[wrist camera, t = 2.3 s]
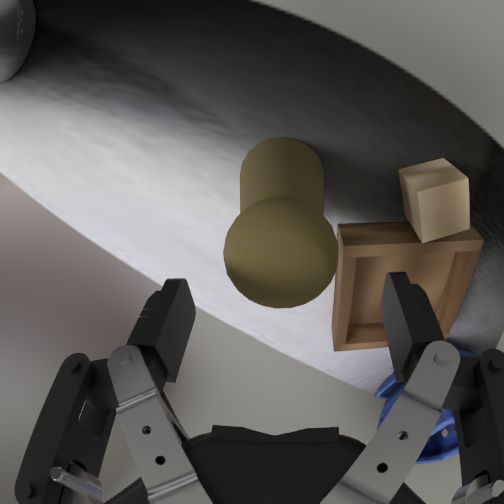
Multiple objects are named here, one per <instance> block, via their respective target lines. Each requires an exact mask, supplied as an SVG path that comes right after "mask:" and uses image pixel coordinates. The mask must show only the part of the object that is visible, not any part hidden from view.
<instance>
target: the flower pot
mask: <svg viewBox="0 0 504 504" xmlns="http://www.w3.org/2000/svg"><path fill="white" fill-rule="evenodd" d="M456 349H457V348H456ZM457 350H458V352H459V354H461V355H465V356H472V357H479V358H480V357H481V356H479V355H477V354H475V353H472V352H468V351H464V350H461V349H457ZM405 386H406V384H405V381H403V382H396V379H395V374H394V373H393V374H392V375H391V376H390V377H389V378H387V379H386V380H385V381H384V382H383V383H382V385H381V386H380V387H379V388H378V390H377V392H376V394H375V397H376V398H379V399H386V402H385V404H384V407H383V409H382V412H381V415H380V419H379V423H378V427H377V430H378V429H379V427H380V426H381V424H382V423H383V421H384V420H385V418H386V417H387V415H388V413H389V412H390V410H391V409H392V407H393V405H394V404H395V402H396V400H397V399H398V397H399V395H400V394H401V392H402V391H403V390H404V388H405ZM441 410H442V412H441V415H440V417H439V419H438V421H437V423H436V425H435V427H434V429H433V431H432V433H431V435H430V437H429V439H428V441H429V443H428V441H427V443H426V445H425V446H424V448H423V450H422V452H421V454H420V455H419V457H418V459H417V460H416V462H415V464H423V463H432V462H438V461H442V460H445V459H447V458H449V457H451V456H453V455H455V454H457V453H459V447H458V440H457V433H456V428H455V420H454V414H453V410H449V409H441ZM444 429H446V430H447V431H448V435H447V436H446V437H445V438H444V437H443V436H442V434H441V433H442V431H443V430H444ZM433 434H434V435H433Z"/></svg>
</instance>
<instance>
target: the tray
mask: <svg viewBox="0 0 504 504" xmlns="http://www.w3.org/2000/svg"><path fill="white" fill-rule="evenodd" d="M483 242H484V239H483V238H482V237H481V235H480V234H479V233H478V232H477V230H476V229H475V228H474V227H473V226H472V224H471V223H470V229H468V230H464V231H461V232H458V233H455V234H451V235H448V236H445V237H442V238H438V239H435V240H432V241H428V242H425V243H422V242H421V240H420V238H419V237H418V235H417V233H416V232H415V230H414V228H413V227H412V225H411V224H410V222H384V223H355V224H338V233H337V243H338V247H339V251H338V265H337V270H336V276H335V291H334V305H333V317H332V337H333V347H334V351H348V350H361V349H372V348H383V347H389V346H388V342H387V337H386V333H385V329H384V325H383V321H382V317H381V310H380V304H381V298H382V292H383V287H384V282H385V277H386V274H387V272H403V271H405V272H406V273H407V276H408V278H409V280H410V283H411V284H418V285H419V286H420V287H421V288H422V289H423V290H424V291H425V292H426V293H427V296H428V298H429V300H430V304H431V305H432V308H433V312H435V315H436V317H437V320H438V322H439V325H440V328H441V330H442V333H443V335H444V338H445V339H446V338H447V336H448V334H449V332H450V329H451V327H452V325H453V323H454V321H455V318H456V316H457V314H458V311H459V309H460V307H461V304H462V302H463V299H464V297H465V294H466V292H467V289H468V286H469V284H470V281H471V278H472V276H473V273H474V270H475V267H476V264H477V261H478V258H479V255H480V252H481V249H482V245H483Z"/></svg>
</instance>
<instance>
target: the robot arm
mask: <svg viewBox="0 0 504 504" xmlns="http://www.w3.org/2000/svg"><path fill="white" fill-rule="evenodd" d="M35 26H36V12H35V6H34V3H33V1H32V0H0V83H1V82H4V81H6V80H8V79H10V78H11V77H12V76H13V75H14V74H15V73H16V72H17V71H18V70H19V68H20V67H21V66H22V64H23V62H24V61H25V59H26V57H27V55H28V52H29V50H30V47H31V45H32V41H33V37H34V33H35ZM380 310H381V317H382V321H383V325H384V329H385V333H386V337H387V342H388V346H389V350H390V355H391V359H392V364H393V369H394V374H395V379H396V382H403V381H405V384H406V386H405V388H404V390H403V391H402V392H401V394H400V395H399V397H398V399H397V400H396V402H395V404H394V405H393V407H392V409H391V410H390V412H389V413H388V415H387V417H386V418H385V420H384V421H383V423H382V424H381V426H380V427H379V429H378V430H377V432H376V433H375V435H374V436H373V438H372V439H371V440H370V442H369V443H368V445H367V446H366V445H365V444H364V443H362V442H360V441H358V440H356V439H354V438H351V437H348V436H345V435H339V427H330V428H307V429H303V430H299V431H295V432H290V433H285V434H281V435H269V434H265V433H261V432H258V431H254V430H250V429H247V428H243V427H232V426H220V425H213V427H212V432H210V433H205V434H201V435H198V436H196V437H194V438H191V439H190V437H189V436H188V434H187V433H186V431H185V430H184V428H183V426H182V425H181V423H180V421H179V419H178V417H177V415H176V414H175V411H174V409H173V407H172V405H171V403H170V401H169V399H168V397H167V395H166V393H165V391H164V389H163V388H164V385H165V382H173V383H175V382H176V378H177V375H178V372H179V368H180V365H181V362H182V358H183V355H184V352H185V349H186V346H187V342H188V339H189V336H190V333H191V330H192V327H193V324H194V320H195V314H196V313H195V312H196V311H195V305H194V301H193V298H192V295H191V292H190V289H189V286H188V283H187V280H186V279H184V278H178V279H167V280H166V281H165V283H164V285H163V288H162V290H161V291H155V293H153V294H152V295H151V297H149V298H148V300H147V302H146V304H145V306H144V308H143V310H142V312H141V314H140V318H138V320H137V322H136V325H135V326H134V329H133V331H132V333H131V335H130V337H129V339H128V342H127V344H126V345H124V346H121V347H118V348H117V349H115V350H114V351H113V352H112V353H111V354H110V356H109V358H107V359H101V360H95V361H90V360H89V358H88V357H87V356H86V355H85V354H83V353H75V354H72V355H70V356H69V357H67V358H66V359H65V361H64V362H63V364H62V365H61V367H60V369H59V372H58V374H57V376H56V378H55V380H54V382H53V385H52V387H51V389H50V391H49V394H48V396H47V398H46V401H45V403H44V406H43V408H42V410H41V413H40V415H39V418H38V420H37V423H36V425H35V428H34V430H33V433H32V436H31V439H30V441H29V444H28V447H27V449H26V452H25V455H24V458H23V461H22V464H21V467H20V470H19V473H18V477H17V480H16V483H15V496H16V499H17V501H18V502H19V504H426V503H425V502H424V501H423V500H422V499H421V498H420V497H419V496H417V495H416V494H415V493H414V492H413V491H412V490H411V489H410V488H409V487H408V486H407V485H406V484H405V483H404V480H405V478H406V477H407V475H408V474H409V472H410V470H411V469H412V467H413V465H414V464H415V462H416V460H417V459H418V457H419V455H420V454H421V452H422V450H423V448H424V446H425V445H426V443H427V441H428V439H429V437H430V435H431V433H432V431H433V429H434V427H435V425H436V423H437V421H438V419H439V417H440V415H441V412H442V410H441V409H449V410H453V414H454V420H455V426H456V433H457V440H458V447H459V455H460V465H461V475H462V487H461V488H460V489H459V490H458V491H457V492H456V493H455V495H454V497H453V499H452V502H451V504H504V353H503V352H502V351H500V350H497V349H489V350H486V351H485V352H484V353H483V354H482V355H481V357H480V358H479V357H472V356H465V355H461V354H459V352H458V350H457V349H456V348H455V347H454V346H453V345H452V344H450V343H448V342H446V341H445V338H444V335H443V333H442V330H441V328H440V325H439V322H438V320H437V317H436V315H435V312H433V308H432V305H431V304H430V300H429V298H428V296H427V293H426V292H425V291H424V290H423V289H422V288H421V287H420V286H419V285H418V284H411V283H410V280H409V278H408V276H407V273H406V272H405V271H403V272H387V274H386V277H385V282H384V287H383V292H382V298H381V304H380ZM84 402H85V405H84V408H83V411H82V413H81V410H82V407H83V404H84ZM80 413H81V416H80V419H79V415H80ZM116 413H117V415H118V418H119V421H120V424H121V427H122V430H123V433H124V435H125V438H126V441H127V444H128V446H129V449H130V451H131V454H132V456H133V459H134V461H135V464H136V466H137V469H138V471H139V473H140V476H141V477H140V478H139V479H137V480H136V481H135V482H134V483H132V484H131V485H129V486H128V487H127V488H125V489H124V490H122V491H121V492H120V493H118V494H117V495H115V496H114V497H113V498H111V499H110V500H108V501H107V502H106V503H104V502H103V499H104V498H105V494H104V492H103V487H102V484H101V482H100V481H99V479H98V477H99V473H100V469H101V465H102V461H103V458H104V454H105V451H106V447H107V444H108V440H109V436H110V433H111V429H112V426H113V423H114V420H115V416H116ZM78 419H79V420H78Z"/></svg>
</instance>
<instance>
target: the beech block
mask: <svg viewBox="0 0 504 504" xmlns="http://www.w3.org/2000/svg"><path fill="white" fill-rule="evenodd" d="M398 174H399V179H400V185H401V190H402V197H403V203H404V210H405V216H406V217H407V219H408V221H409V222H410V224H411V225H412V227H413V228H414V230H415V232H416V233H417V235H418V237H419V238H420V240H421V242H422V243H425V242H428V241H432V240H435V239H438V238H442V237H445V236H448V235H451V234H455V233H458V232H461V231H464V230H468V229H470V206H469V180H468V177H466V176H465V175H464V174H463V173H462V172H460V171H459V170H458V169H457V168H455V167H454V166H453V165H452V164H450V163H449V162H448V161H447V160H445V159H444V158H442V159H438V160H434V161H430V162H426V163H422V164H418V165H414V166H410V167H406V168H402V169H398Z"/></svg>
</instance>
